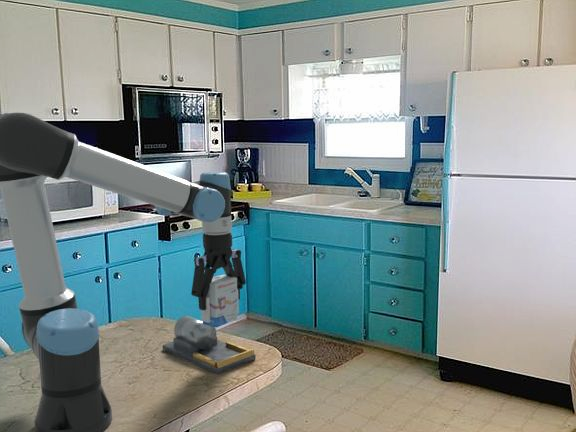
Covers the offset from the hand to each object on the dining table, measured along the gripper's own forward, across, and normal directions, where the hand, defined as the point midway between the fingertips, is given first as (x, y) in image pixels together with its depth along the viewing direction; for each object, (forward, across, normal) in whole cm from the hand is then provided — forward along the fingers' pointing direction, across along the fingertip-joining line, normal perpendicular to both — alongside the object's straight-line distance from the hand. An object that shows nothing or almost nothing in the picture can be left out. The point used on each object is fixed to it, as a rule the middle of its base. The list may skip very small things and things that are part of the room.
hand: (220, 316), depth 156 cm
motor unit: (+12, 0, +6) cm, 13 cm away
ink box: (+2, 0, 0) cm, 2 cm away
